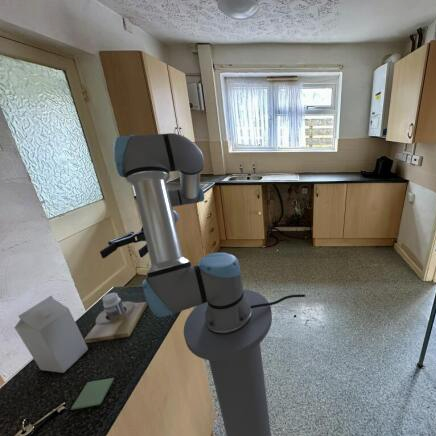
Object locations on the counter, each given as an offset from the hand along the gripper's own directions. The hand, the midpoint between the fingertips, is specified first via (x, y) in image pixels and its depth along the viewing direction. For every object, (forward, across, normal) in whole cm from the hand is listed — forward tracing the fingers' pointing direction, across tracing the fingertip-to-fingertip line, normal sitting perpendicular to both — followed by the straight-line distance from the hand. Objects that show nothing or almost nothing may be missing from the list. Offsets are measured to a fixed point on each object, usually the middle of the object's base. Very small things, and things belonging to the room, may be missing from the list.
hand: (121, 254), depth 82 cm
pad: (+35, -12, -18) cm, 41 cm away
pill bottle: (+10, 0, -18) cm, 21 cm away
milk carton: (+26, +3, -18) cm, 32 cm away
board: (+12, -2, -18) cm, 22 cm away
